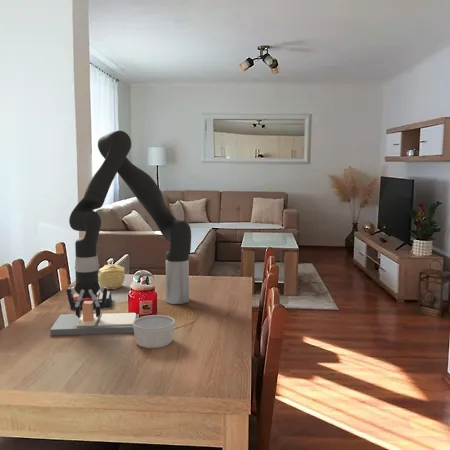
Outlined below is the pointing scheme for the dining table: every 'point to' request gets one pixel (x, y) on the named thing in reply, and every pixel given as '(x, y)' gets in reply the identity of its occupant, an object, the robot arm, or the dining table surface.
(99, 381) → the dining table surface
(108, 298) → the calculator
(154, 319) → the ramekin
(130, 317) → the grey rectangular board
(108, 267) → the yellow sugar bowl
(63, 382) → the dining table surface
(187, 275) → the robot arm
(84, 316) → the upright wooden block
